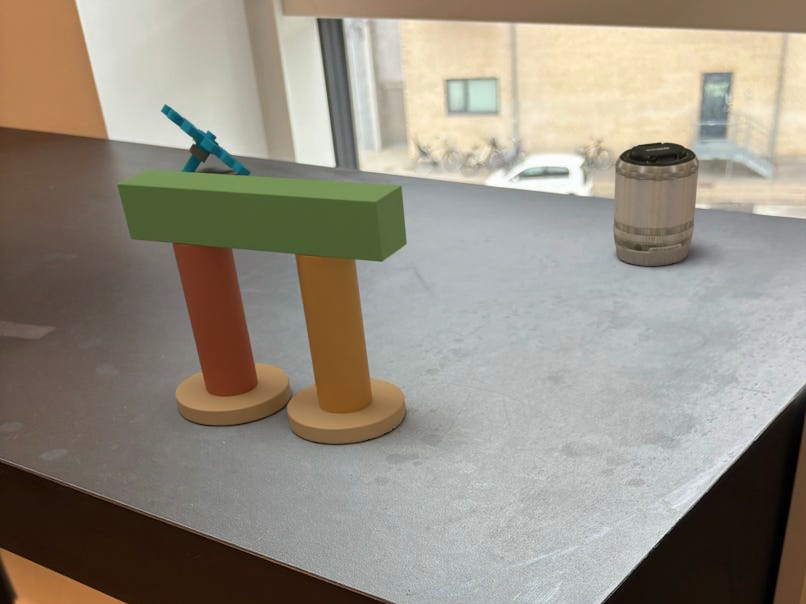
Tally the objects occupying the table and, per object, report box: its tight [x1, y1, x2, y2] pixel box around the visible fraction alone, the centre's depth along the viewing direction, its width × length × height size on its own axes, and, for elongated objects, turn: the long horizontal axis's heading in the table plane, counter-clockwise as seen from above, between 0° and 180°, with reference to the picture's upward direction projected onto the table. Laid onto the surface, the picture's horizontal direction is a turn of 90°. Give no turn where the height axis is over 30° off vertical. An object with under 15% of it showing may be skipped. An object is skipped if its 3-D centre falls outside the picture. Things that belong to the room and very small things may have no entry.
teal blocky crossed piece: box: [160, 103, 251, 176], centre depth 104 cm, size 11×6×10 cm
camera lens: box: [613, 141, 700, 267], centre depth 79 cm, size 6×6×8 cm
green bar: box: [116, 169, 408, 263], centre depth 55 cm, size 16×3×3 cm, turn 68°
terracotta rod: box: [171, 243, 292, 426], centre depth 60 cm, size 7×7×10 cm
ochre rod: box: [286, 254, 407, 445], centre depth 58 cm, size 7×7×10 cm
